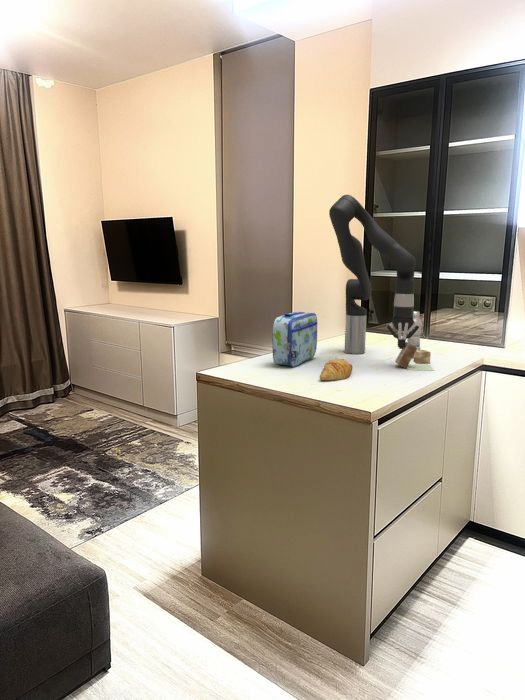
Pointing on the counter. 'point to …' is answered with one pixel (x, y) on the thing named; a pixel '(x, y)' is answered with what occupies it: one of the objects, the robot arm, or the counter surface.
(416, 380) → the counter surface
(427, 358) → the oak block
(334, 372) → the croissant
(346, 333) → the robot arm
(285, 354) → the lunch box
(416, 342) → the plastic bottle
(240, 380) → the counter surface
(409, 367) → the pad
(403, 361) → the walnut block
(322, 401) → the counter surface
